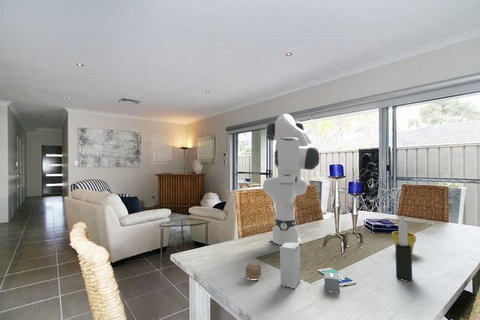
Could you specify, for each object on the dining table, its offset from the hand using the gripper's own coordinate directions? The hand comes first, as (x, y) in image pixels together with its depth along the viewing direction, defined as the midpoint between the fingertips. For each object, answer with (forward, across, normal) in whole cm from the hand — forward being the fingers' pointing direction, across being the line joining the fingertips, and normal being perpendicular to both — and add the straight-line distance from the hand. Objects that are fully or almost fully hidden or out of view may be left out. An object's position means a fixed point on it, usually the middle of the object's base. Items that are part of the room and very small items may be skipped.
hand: (289, 212), depth 95 cm
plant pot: (+27, -51, +52) cm, 78 cm away
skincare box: (+28, 0, 0) cm, 28 cm away
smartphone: (+28, -11, +17) cm, 34 cm away
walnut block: (+27, 0, -15) cm, 31 cm away
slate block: (+27, 0, +15) cm, 31 cm away
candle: (+27, -18, +43) cm, 54 cm away
